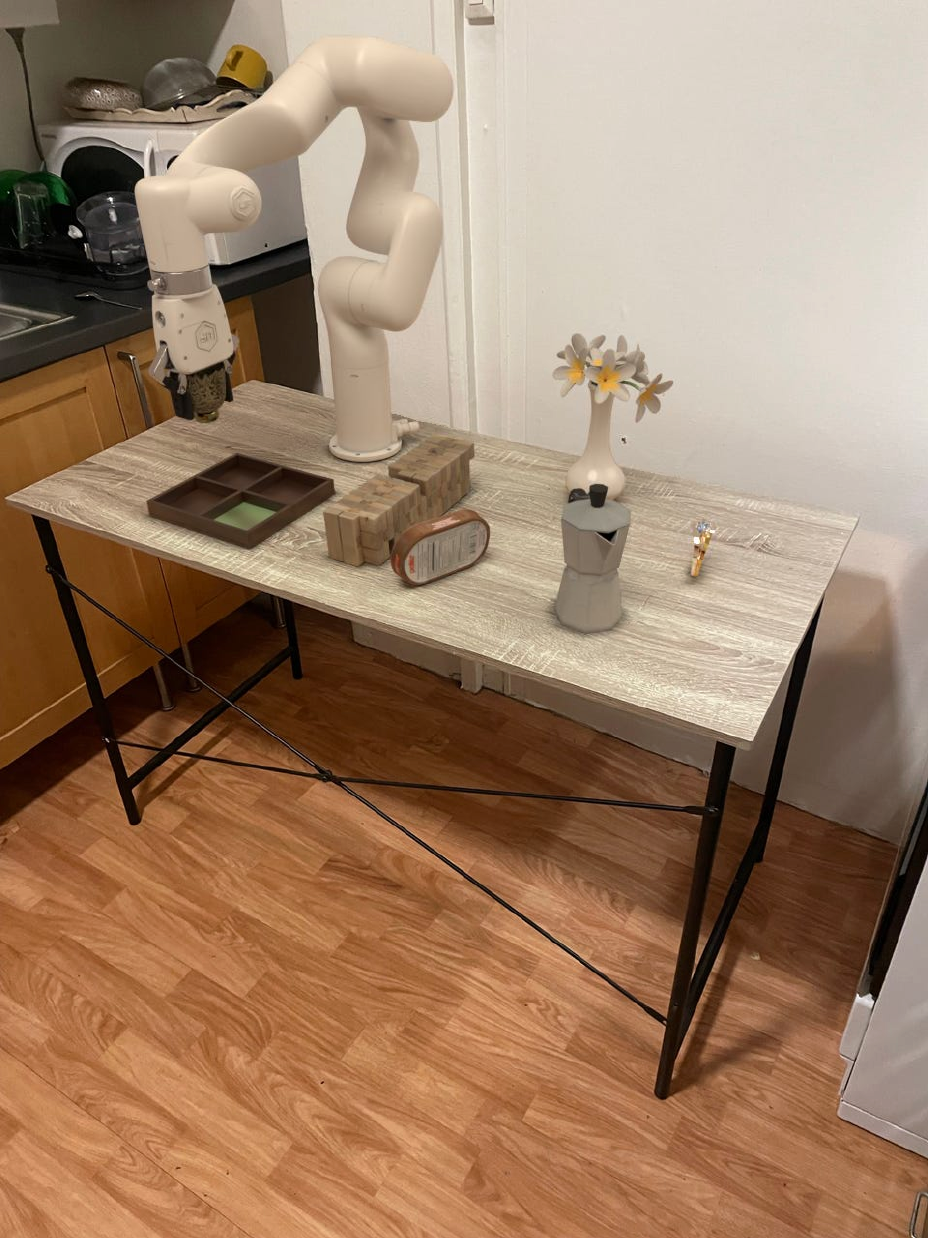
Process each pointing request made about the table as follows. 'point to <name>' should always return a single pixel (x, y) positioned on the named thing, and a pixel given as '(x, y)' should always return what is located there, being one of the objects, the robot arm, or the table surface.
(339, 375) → the robot arm
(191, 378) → the cup
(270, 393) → the table surface
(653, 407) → the flower vase
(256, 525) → the grid
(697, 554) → the ring
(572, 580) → the coffee maker
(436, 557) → the tin
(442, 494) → the block tower
